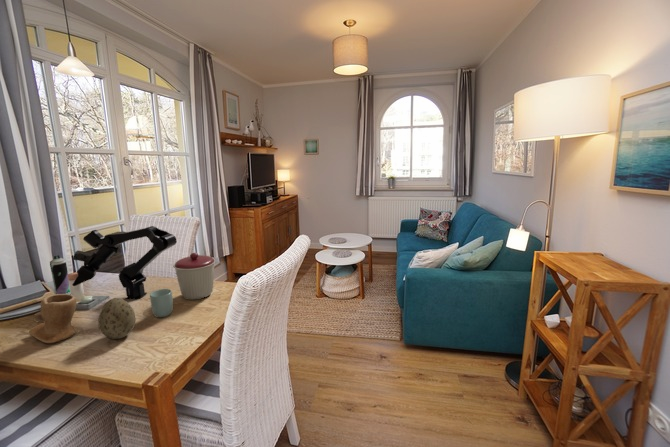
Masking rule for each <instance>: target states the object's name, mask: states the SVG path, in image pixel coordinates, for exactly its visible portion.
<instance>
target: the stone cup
mask: <svg viewBox="0 0 670 447" xmlns="http://www.w3.org/2000/svg"><path fill="white" fill-rule="evenodd" d="M76 303H77V302H76V298H75V296H73V295H70V294H56V293H54V294H51V295H48V296H46V297H44V298H43V299H41V302H40V311H41V316H42V318H43V320H44V322H41V323H40V324H37V325H35V326H34V327H31V328H30V329H29V330H28V334H30V336H32V337H33V338H35V339H37V340H38V341H41V342H42V343H45V344H51V343H52V344H54V343H57V342H60V341H63V340H66V339H67V338H70V337H72V336H74V335H75V334H76V333H77V329H76V328H75V326H73V325H72V320H73V317H74V314H75V311H76V310H75V309H76Z"/></svg>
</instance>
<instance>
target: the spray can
mask: <svg viewBox="0 0 670 447" xmlns="http://www.w3.org/2000/svg"><path fill="white" fill-rule="evenodd" d="M49 266H50V267H49V268H50V272H51V276H52V283H53V286H54V288H53V289H54V292H55V293H54V294H66V293H68V292H70V286H69V280H68V277H67V275H68V274H69V272H68V265H67V261H66V259H65V258H62V257H61V256H60V255H59V254H58V255H54V256H53V258H52V260H50V261H49Z"/></svg>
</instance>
